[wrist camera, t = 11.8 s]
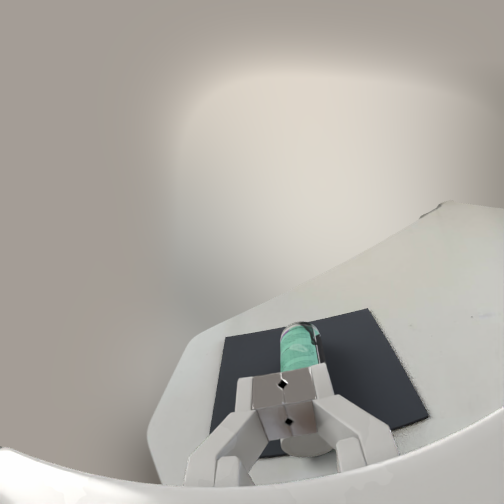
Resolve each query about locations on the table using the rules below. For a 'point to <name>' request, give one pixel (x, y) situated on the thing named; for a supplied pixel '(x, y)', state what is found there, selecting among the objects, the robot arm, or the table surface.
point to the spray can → (294, 357)
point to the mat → (338, 365)
